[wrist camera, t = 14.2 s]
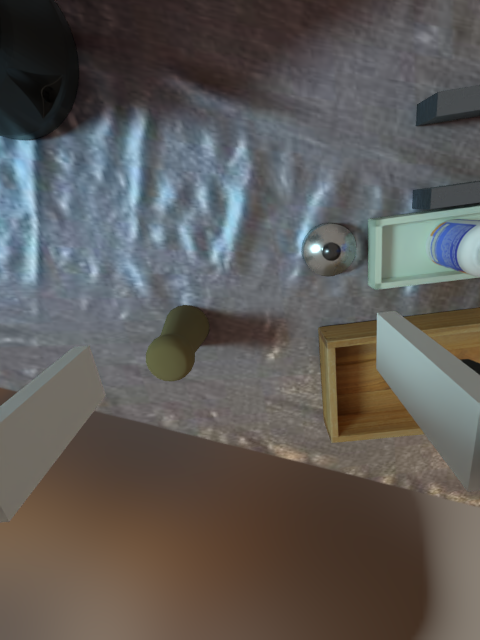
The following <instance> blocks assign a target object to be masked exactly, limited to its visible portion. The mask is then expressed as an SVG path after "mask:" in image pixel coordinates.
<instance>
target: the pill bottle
mask: <svg viewBox="0 0 480 640" xmlns="http://www.w3.org/2000/svg"><path fill="white" fill-rule="evenodd" d="M426 253H427V256H428V257H429V259H430V260H431V261H432V262H434V263H435V264H438V265H440V266H444V267H447V268H450V269H453V270H457V271H460V272H463V273H466V274H469V275H473V276H477V277H480V220H464V219H451V220H446V221H444V222H442V223H440V224H438V225H437V226H436V227H435V228H434V229H433V230H432V231H431V232H430V234H429V236H428V238H427V241H426Z"/></svg>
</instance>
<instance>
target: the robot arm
mask: <svg viewBox="0 0 480 640" xmlns="http://www.w3.org/2000/svg"><path fill="white" fill-rule="evenodd" d="M78 75H79V69H78V57H77V51H76V47H75V43H74V39H73V36H72V33H71V30H70V28H69V25H68V23H67V21H66V19H65V17H64V15H63V13H62V12H61V10H60V8H59V7H58V5H57V4H56V2H55V1H54V0H0V136H3V137H6V138H11V139H17V140H30V139H35V138H39V137H42V136H44V135H46V134H48V133H50V132H52V131H53V130H54V129H56V128H57V127H58V126H59V125H60V124H61V123H62V122H63V120H64V119H65V118H66V116H67V115H68V113H69V111H70V109H71V107H72V105H73V102H74V100H75V96H76V92H77V86H78ZM376 369H377V370H378V372H379V373H380V374H381V376H382V377H383V379H384V380H385V381H386V383H387V384H388V385H389V387H390V388H391V389H392V391H393V392H394V393H395V395H396V396H397V397H398V399H399V400H400V401H401V403H402V404H403V405H404V407H405V408H406V409H407V411H408V412H409V413H410V415H411V416H412V417H413V419H414V420H415V422H416V423H417V424H418V426H419V427H420V428H421V430H422V431H423V432H424V434H425V435H426V436H427V438H428V439H429V440H430V442H431V443H432V444H433V446H434V447H435V448H436V450H437V451H438V452H439V454H440V455H441V456H442V458H443V459H444V460H445V462H446V463H447V465H448V466H449V467H450V469H451V470H452V471H453V473H454V474H455V475H456V477H457V478H458V479H459V481H460V482H461V483H462V485H463V486H464V487H465V489H466V490H467V491H468V492H470V491H480V363H478V362H475V361H473V360H470V359H461V360H459V359H458V358H457V357H455V356H454V355H453V354H451V353H450V352H449V351H447V350H446V349H445V348H443V347H442V346H441V345H439V344H438V343H437V342H436V341H434V340H433V339H432V338H430V337H429V336H428V335H426V334H425V333H424V332H422V331H421V330H420V329H418V328H417V327H416V326H414V325H413V324H412V323H410V322H409V321H408V320H407V319H405V318H404V317H403V316H401V315H400V314H399V313H397V312H396V311H390V312H381V313H377V354H376ZM105 396H106V395H105V392H104V389H103V386H102V383H101V380H100V377H99V373H98V370H97V367H96V364H95V361H94V358H93V355H92V352H91V349H90V346H89V345H88V346H80V347H73V348H72V349H71V350H70V351H68V352H67V353H66V354H65V355H63V356H62V357H61V358H60V359H58V360H57V361H56V362H55V363H53V364H52V365H51V366H50V367H48V368H47V369H46V370H45V371H44V372H42V373H41V374H40V375H39V376H37V377H36V378H35V379H34V380H32V381H31V382H30V383H29V384H27V385H26V386H25V387H24V388H22V389H21V390H20V391H19V392H17V393H16V394H15V395H14V396H12V398H10V399H9V400H8V401H6V402H5V403H4V404H3V405H1V406H0V522H9V521H10V520H11V519H12V517H13V516H14V515H15V513H16V512H17V511H18V510H19V508H20V507H21V506H22V504H23V503H24V502H25V500H26V499H27V498H28V496H29V495H30V494H31V493H32V491H33V490H34V488H35V487H36V486H37V485H38V483H39V482H40V481H41V479H42V478H43V477H44V475H45V474H46V473H47V472H48V470H49V469H50V468H51V466H52V465H53V464H54V462H55V461H56V460H57V459H58V457H59V456H60V455H61V453H62V452H63V451H64V449H65V448H66V447H67V445H68V444H69V443H70V442H71V440H72V439H73V438H74V436H75V435H76V434H77V432H78V431H79V430H80V428H81V427H82V426H83V425H84V423H85V422H86V421H87V419H88V418H89V417H90V415H91V414H92V413H93V411H94V410H95V409H96V408H97V406H98V405H99V404H100V402H101V401H102V400H103V398H104V397H105Z"/></svg>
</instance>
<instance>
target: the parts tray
mask: <svg viewBox="0 0 480 640" xmlns="http://www.w3.org/2000/svg"><path fill="white" fill-rule="evenodd" d="M451 219H464V220H480V204H475V205H467V206H460V207H453V208H445V209H438V210H431V211H424V212H416V213H409V214H402V215H394V216H387V217H380V218H372V219H368V285H369V286H371V287H372V288H373V289H375V290H378V289H386V288H394V287H403V286H411V285H420V284H428V283H437V282H445V281H453V280H462V279H470V278H479V277H477V276H473V275H469V274H466V273H463V272H460V271H457V270H453V269H450V268H447V267H444V266H440V265H438V264H435V263H434V262H432V261H431V260H430V259H429V257H428V256H427V253H426V241H427V238H428V236H429V234H430V232H431V231H432V230H433V229H434V228H435V227H436V226H437V225H438V224H440V223H442V222H444V221H446V220H451Z"/></svg>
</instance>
